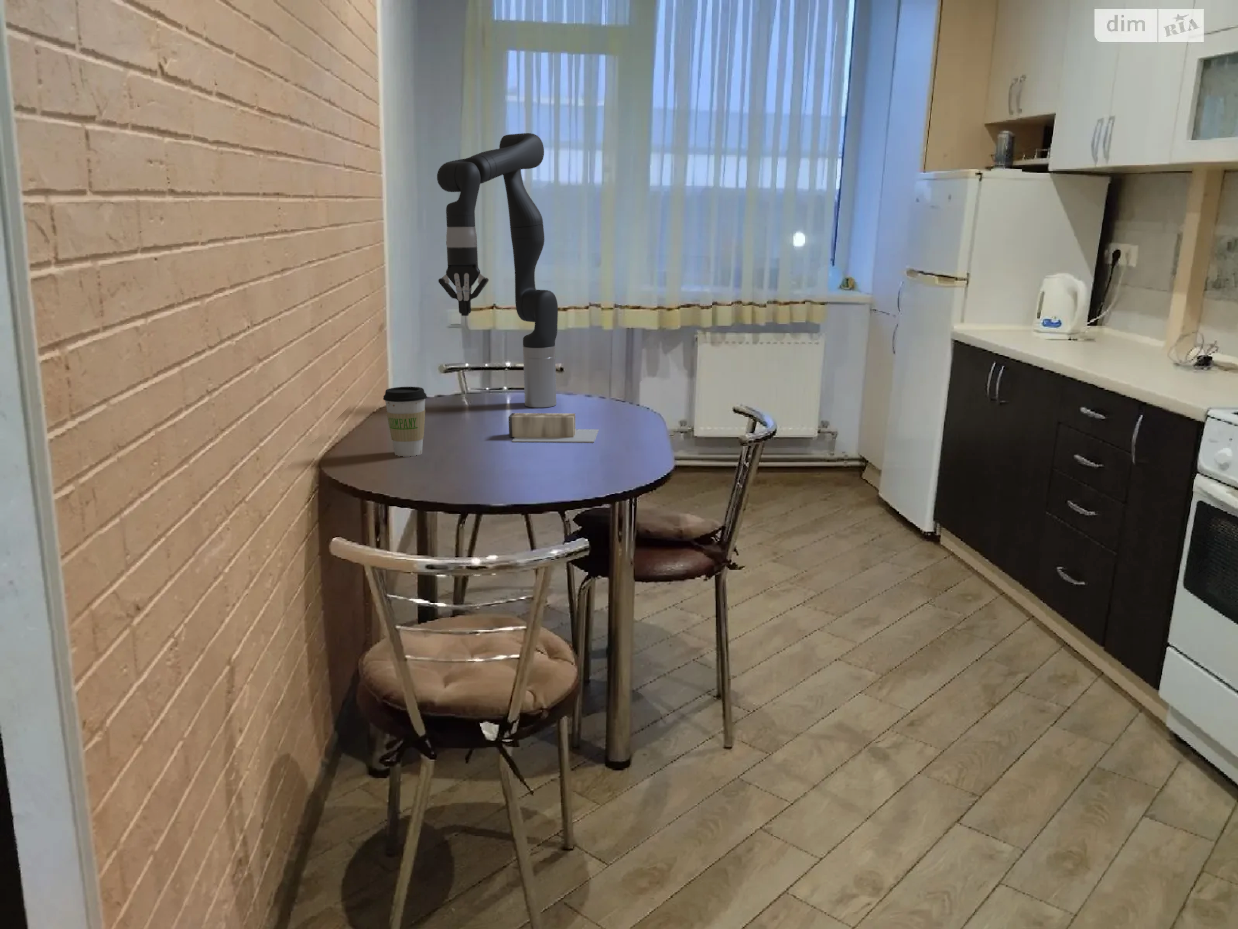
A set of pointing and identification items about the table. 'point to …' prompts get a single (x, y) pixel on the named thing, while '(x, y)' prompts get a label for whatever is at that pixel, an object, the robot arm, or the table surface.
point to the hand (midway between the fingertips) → (465, 315)
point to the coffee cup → (406, 419)
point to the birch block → (542, 425)
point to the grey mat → (579, 437)
